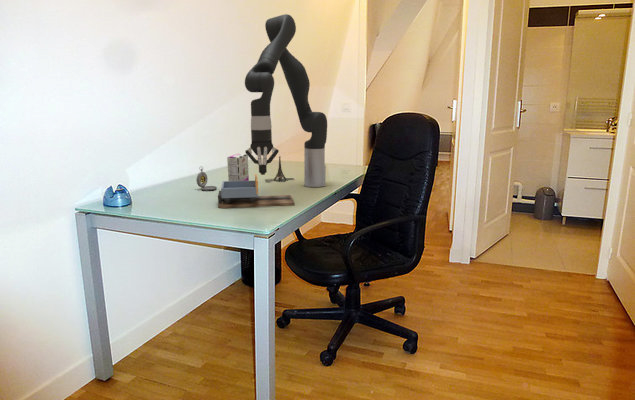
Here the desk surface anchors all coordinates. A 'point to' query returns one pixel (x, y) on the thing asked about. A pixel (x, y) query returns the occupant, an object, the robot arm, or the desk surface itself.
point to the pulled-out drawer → (239, 190)
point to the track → (256, 201)
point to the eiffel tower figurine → (279, 175)
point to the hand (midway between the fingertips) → (262, 174)
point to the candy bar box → (238, 167)
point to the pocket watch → (204, 181)
